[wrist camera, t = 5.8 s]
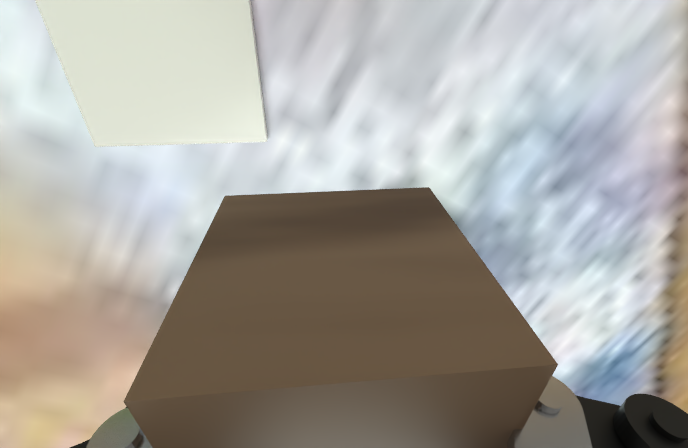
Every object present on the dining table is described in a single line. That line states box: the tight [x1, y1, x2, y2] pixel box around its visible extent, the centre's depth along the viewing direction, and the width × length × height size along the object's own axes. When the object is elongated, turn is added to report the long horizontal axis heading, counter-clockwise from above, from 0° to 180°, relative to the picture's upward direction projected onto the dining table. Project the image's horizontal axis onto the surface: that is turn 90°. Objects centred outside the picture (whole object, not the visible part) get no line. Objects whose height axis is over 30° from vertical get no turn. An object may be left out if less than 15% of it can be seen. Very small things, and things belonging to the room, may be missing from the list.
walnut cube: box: [124, 187, 558, 448], centre depth 9 cm, size 6×6×6 cm
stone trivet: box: [35, 0, 268, 147], centre depth 21 cm, size 12×12×1 cm
